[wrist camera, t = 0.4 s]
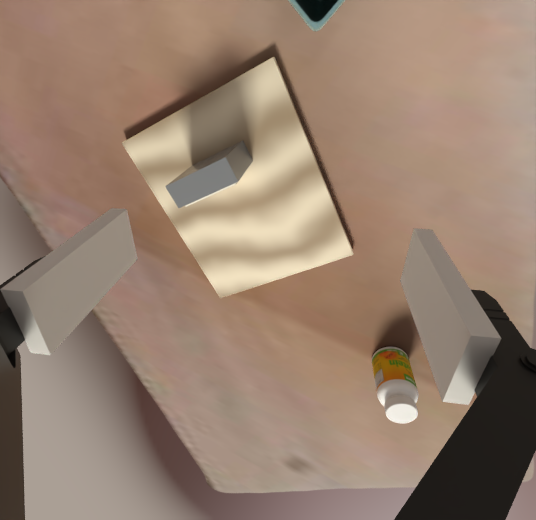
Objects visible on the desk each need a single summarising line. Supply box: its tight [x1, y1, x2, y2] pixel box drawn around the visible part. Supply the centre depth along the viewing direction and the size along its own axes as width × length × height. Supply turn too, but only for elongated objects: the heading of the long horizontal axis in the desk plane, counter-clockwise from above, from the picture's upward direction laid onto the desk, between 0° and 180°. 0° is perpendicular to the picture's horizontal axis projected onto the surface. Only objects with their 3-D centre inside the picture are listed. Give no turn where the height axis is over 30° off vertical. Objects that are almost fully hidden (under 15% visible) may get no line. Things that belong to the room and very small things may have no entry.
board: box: [122, 57, 354, 298], centre depth 42 cm, size 24×20×1 cm
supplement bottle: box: [372, 347, 418, 423], centre depth 49 cm, size 5×5×10 cm
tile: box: [165, 140, 253, 208], centre depth 36 cm, size 3×7×8 cm, turn 116°
